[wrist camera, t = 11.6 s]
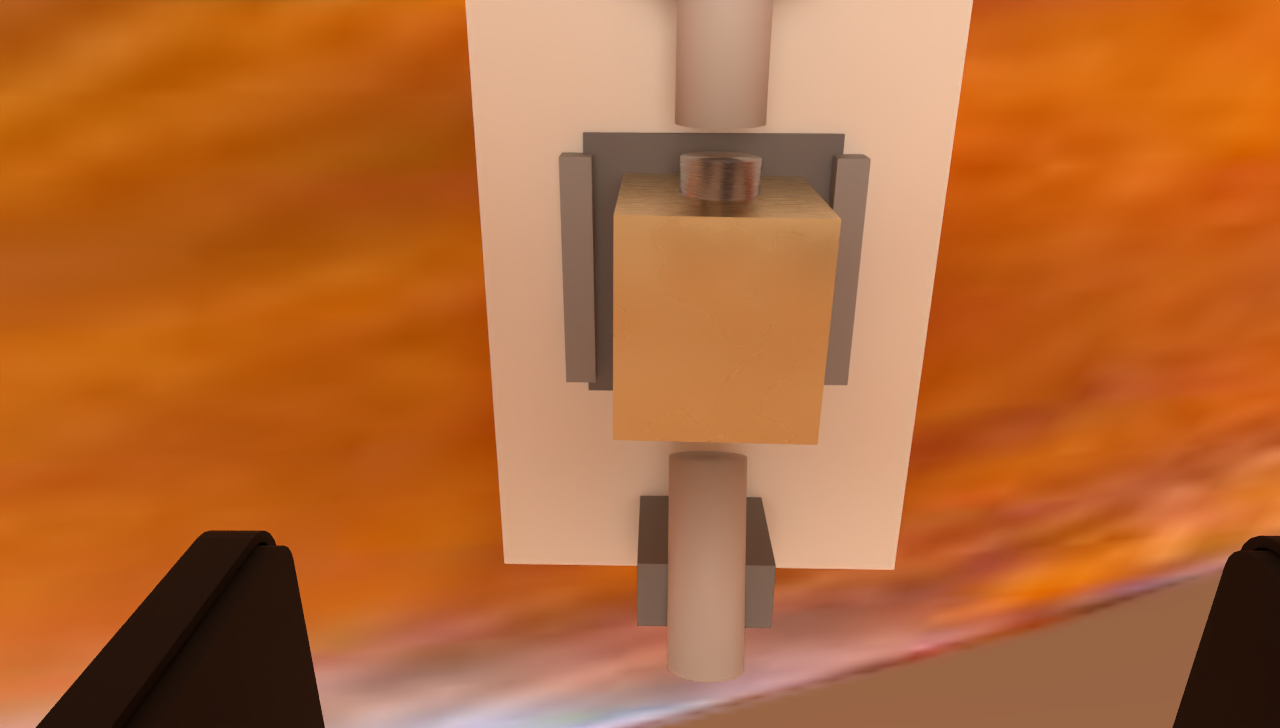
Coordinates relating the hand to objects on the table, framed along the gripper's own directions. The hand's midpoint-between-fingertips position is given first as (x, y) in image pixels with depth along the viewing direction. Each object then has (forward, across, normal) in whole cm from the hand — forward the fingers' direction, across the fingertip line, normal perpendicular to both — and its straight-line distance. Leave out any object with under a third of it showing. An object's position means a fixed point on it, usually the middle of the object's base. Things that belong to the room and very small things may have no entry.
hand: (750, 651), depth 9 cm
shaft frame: (+16, -1, 0) cm, 16 cm away
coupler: (+15, -1, 0) cm, 15 cm away
